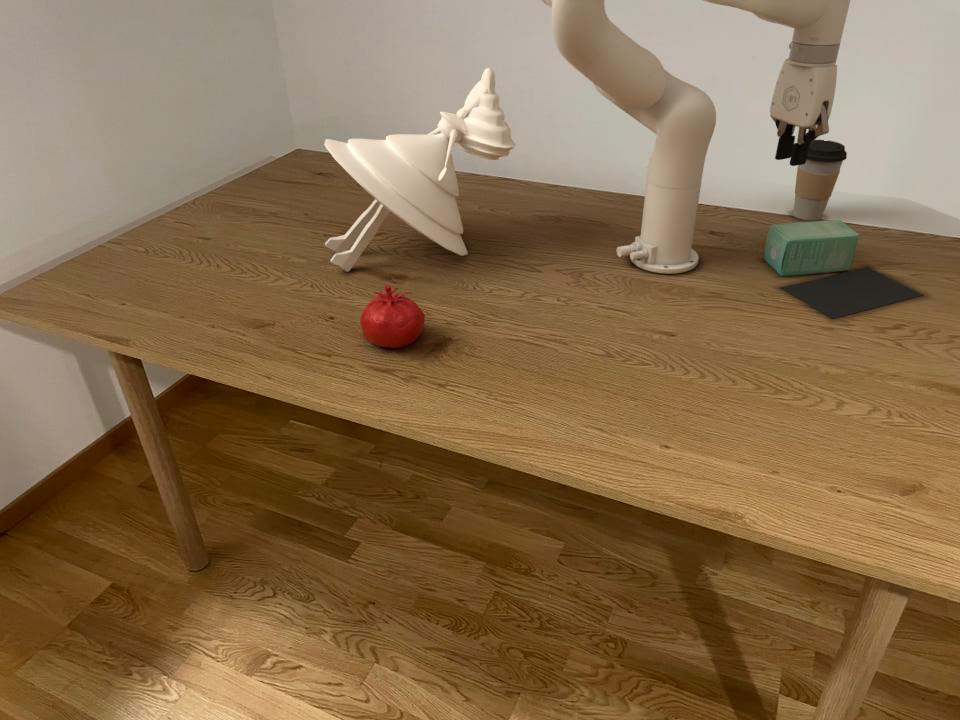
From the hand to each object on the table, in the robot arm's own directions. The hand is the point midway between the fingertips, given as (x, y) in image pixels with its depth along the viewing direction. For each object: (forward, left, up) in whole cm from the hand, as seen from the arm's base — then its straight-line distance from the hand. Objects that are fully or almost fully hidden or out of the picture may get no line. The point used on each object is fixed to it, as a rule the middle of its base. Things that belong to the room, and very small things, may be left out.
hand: (790, 160), depth 131 cm
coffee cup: (+18, +10, -17) cm, 27 cm away
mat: (0, -20, -17) cm, 26 cm away
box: (0, -9, -17) cm, 20 cm away
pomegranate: (-77, -3, -17) cm, 79 cm away
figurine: (-63, +27, -17) cm, 71 cm away
